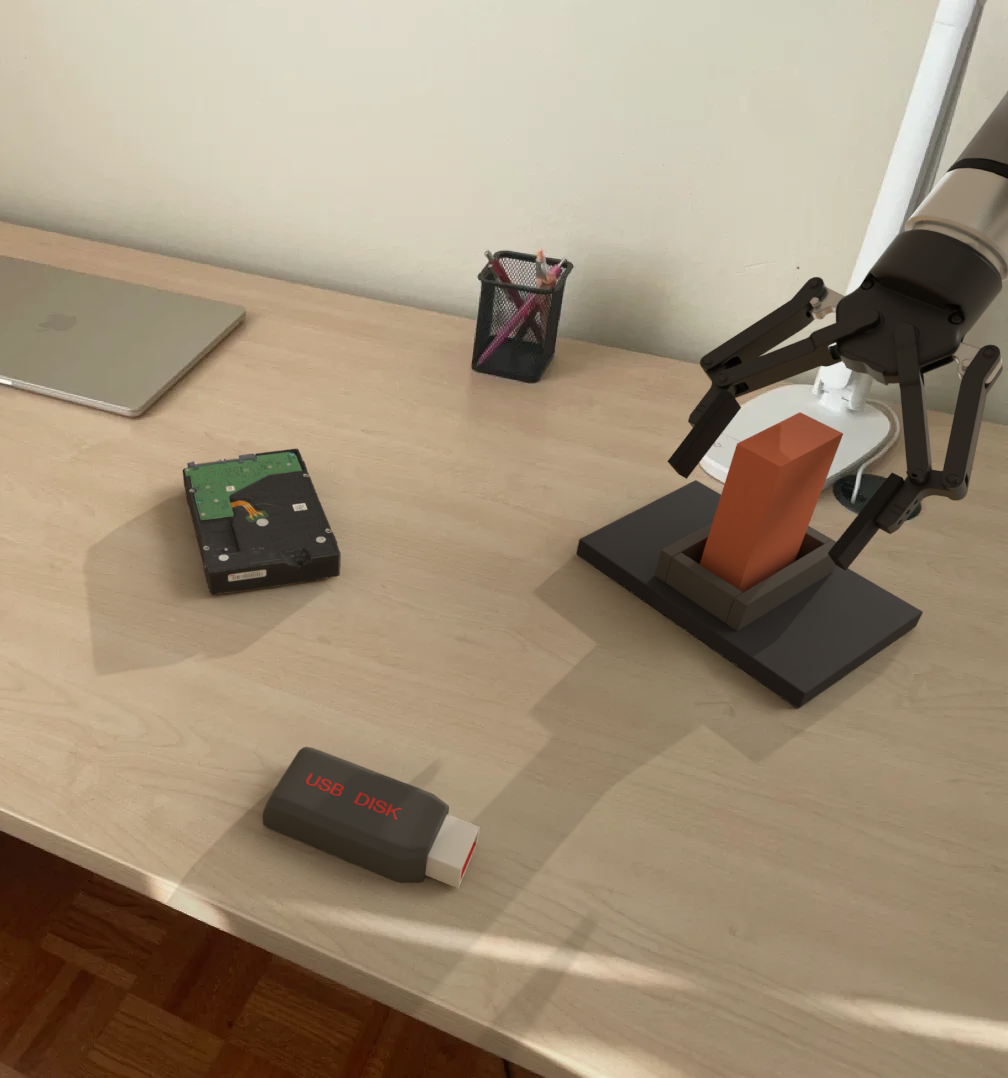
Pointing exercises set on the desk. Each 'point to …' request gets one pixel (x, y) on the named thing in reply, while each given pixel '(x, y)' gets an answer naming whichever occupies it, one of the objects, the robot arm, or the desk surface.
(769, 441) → the orange rectangular block
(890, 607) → the socket base
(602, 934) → the desk surface
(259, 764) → the desk surface
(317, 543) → the disk drive
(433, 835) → the usb drive
